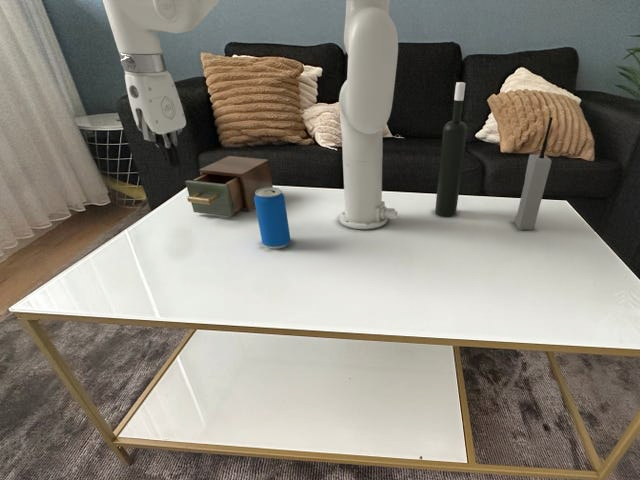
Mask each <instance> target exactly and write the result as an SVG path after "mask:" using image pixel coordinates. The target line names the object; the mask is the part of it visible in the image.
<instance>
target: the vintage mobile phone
mask: <svg viewBox="0 0 640 480" xmlns="http://www.w3.org/2000/svg"><path fill="white" fill-rule="evenodd" d="M553 119H554V117H552V116H551V117H549V119H548V124H547V127H546V131H545V132H546V133H545V137H544V140H543V142H542V146H541V150H540V153H539V154H532V153H531V154H529V155H528V160H527V164H526V165H527V166H526V170H525V177H524V183H523V187H522V192H521V196H520V200H519V205H518V207H517V208H518V209H517V213H516V215H515V217H514V221H513V223H514V224H515V226H516V227H517V228H518V230H520V231H534V230H535V225H536V222H537V218H538V215H539V210H540V207H541V202H542V199H543V196H544V191H545V188H546V184H547V181H548V176H549V173H550V169H551V165H552V159H551V158H549V157H548V156H547V155H546V154H545V153H546V149H547V145H548V139H549V135H550V131H551V127H552V123H553Z"/></svg>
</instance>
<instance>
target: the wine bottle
mask: <svg viewBox="0 0 640 480" xmlns="http://www.w3.org/2000/svg"><path fill="white" fill-rule="evenodd" d="M465 90H466V82H463V81H462V82H461V81H459V82H457V81H456V83H455V89H454V99H453V100H454V103H453V111H452V119H451V120H450V121H448V122H446V124H444V126H443V129H442V139H441V150H440V158H439V159H440V160H439V168H438V177H437V179H438V180H437V189H436V190H437V191H436V199H435V207H434V208H435V209H434V213H435V215H436V216H439V217H442V218H451V217H452V218H453V217H455V216H456V214H457V210H458V209H457V208H458V202H459V193H460V187H461V179H462V173H463V172H462V171H463V165H464V164H463V163H464V157H465V149H466V141H467V135H468V126H467V124H466V123H465V122H463V121H461V120H462V111H463V104H464V98H465Z"/></svg>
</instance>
